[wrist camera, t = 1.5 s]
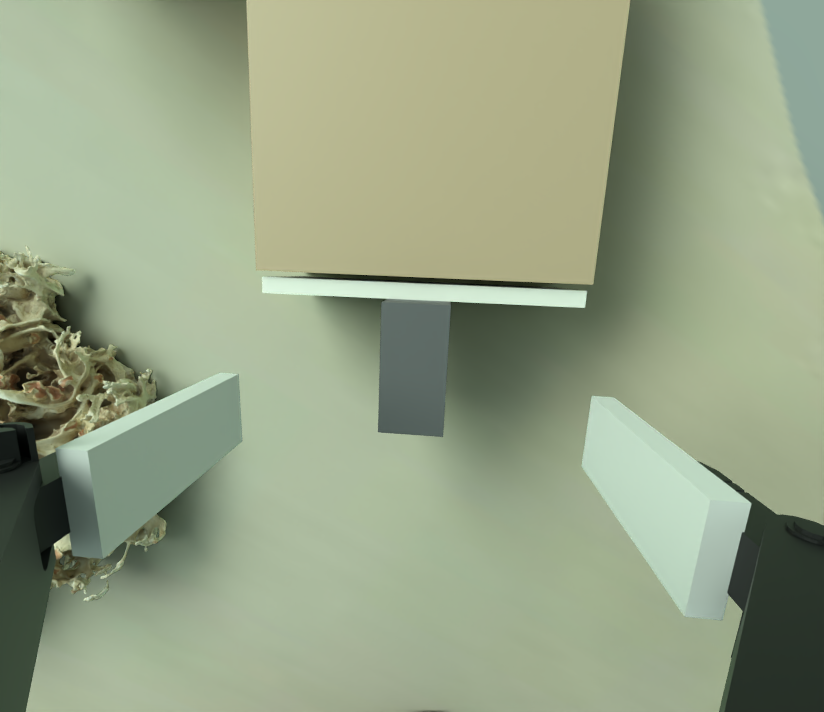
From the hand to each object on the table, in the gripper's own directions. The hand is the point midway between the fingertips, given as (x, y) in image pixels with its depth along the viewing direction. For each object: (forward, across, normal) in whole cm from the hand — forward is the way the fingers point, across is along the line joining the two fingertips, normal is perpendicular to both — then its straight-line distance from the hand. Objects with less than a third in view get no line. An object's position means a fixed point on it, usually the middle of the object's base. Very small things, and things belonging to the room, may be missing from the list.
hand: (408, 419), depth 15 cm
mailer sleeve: (+12, 0, -15) cm, 19 cm away
